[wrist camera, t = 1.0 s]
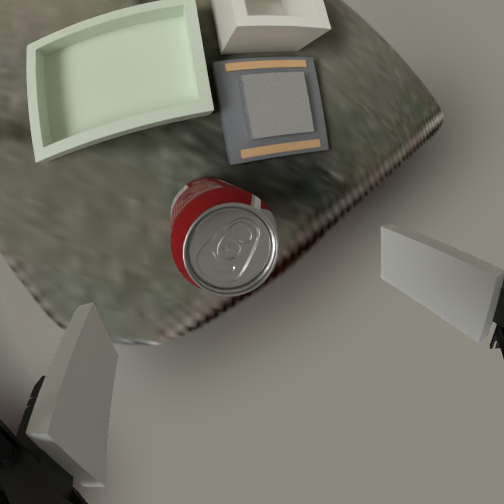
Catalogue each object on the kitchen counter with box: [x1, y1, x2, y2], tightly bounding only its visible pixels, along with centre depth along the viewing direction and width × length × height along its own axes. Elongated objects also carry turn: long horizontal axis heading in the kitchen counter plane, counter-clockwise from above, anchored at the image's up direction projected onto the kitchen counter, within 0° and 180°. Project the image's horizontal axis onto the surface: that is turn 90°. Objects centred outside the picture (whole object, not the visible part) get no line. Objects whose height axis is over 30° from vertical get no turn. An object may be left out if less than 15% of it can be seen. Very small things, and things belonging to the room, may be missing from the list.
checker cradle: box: [211, 57, 329, 165], centre depth 25 cm, size 10×10×1 cm
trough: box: [27, 0, 214, 163], centre depth 19 cm, size 12×16×3 cm
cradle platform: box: [239, 72, 314, 140], centre depth 24 cm, size 6×6×1 cm
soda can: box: [171, 177, 279, 297], centre depth 22 cm, size 7×7×12 cm
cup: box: [210, 0, 331, 55], centre depth 18 cm, size 8×8×7 cm
